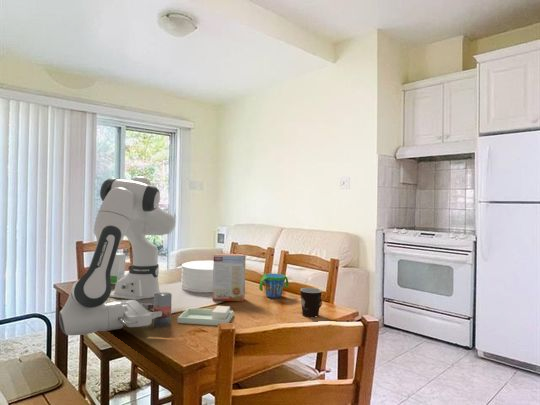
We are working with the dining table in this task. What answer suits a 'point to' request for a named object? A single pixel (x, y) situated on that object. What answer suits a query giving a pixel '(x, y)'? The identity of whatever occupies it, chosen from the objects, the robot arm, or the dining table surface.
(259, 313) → the dining table surface
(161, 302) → the tin
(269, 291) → the snack cup
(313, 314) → the coffee mug
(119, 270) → the skincare box
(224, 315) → the white rectangular block
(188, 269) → the plate stack
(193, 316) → the pale green tray
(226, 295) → the cracker box
